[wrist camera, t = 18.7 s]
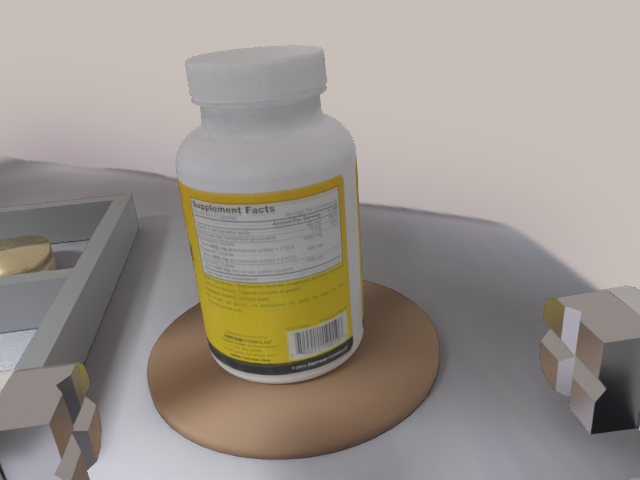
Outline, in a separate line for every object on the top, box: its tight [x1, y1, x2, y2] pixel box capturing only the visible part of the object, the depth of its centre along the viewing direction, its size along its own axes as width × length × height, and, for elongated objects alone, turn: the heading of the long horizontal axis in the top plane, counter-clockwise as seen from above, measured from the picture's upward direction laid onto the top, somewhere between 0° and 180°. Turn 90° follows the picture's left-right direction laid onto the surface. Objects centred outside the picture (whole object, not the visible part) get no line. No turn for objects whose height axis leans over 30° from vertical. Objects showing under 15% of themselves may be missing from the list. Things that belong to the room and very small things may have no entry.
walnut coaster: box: [147, 280, 439, 459], centre depth 24 cm, size 12×12×1 cm
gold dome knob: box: [0, 235, 57, 277], centre depth 33 cm, size 4×4×2 cm
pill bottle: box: [176, 45, 364, 384], centre depth 22 cm, size 6×6×12 cm
